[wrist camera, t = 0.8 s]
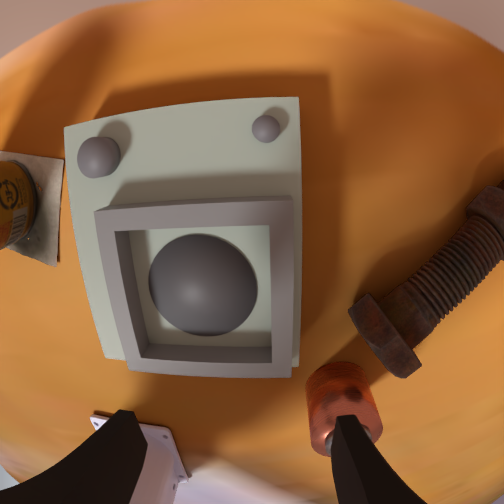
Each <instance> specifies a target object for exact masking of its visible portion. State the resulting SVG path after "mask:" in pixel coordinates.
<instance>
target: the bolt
mask: <svg viewBox="0 0 504 504" xmlns="http://www.w3.org/2000/svg"><path fill="white" fill-rule="evenodd" d="M466 211H467V218H468V220H467V221H466V223H465V224H464V225H463V227H461V228H460V229H459V231H457V232H456V234H455V235H454V236H453V237H452V239H450V240H449V241H448V243H445V245H444V246H443V247H441V250H438V252H437V254H434V255H433V258H430V259H429V262H426V263H425V266H422V267H421V270H417V274H413V275H412V276H413V278H409V279H408V282H404V283H403V284H402V285H400V286H397V287H396V288H395V289H394V290H393V291H392V292H391V293H390V294H388V295H387V296H386V297H385V298H384V299H383V300H381V301H380V302H379V303H378V304H377V302H376V301H375V300H374V299H373V297H372V296H371V295H370V294H369V293H367V294H366V295H365V296H364V297H363V298H361V299H360V300H359V301H358V302H357V303H355V304H354V305H353V306H352V307H351V308H349V309H348V313H349V315H350V317H351V319H352V321H353V323H354V324H355V326H356V328H357V329H358V331H359V333H360V334H361V336H362V337H363V338H364V340H365V341H366V342H367V344H368V345H369V346H370V348H371V349H372V350H373V352H374V353H375V354H376V356H377V357H378V358H379V359H380V361H381V362H382V363H383V364H384V366H385V367H386V368H387V369H388V370H389V371H390V372H391V373H392V374H393V375H394V376H396V377H399V378H407V377H408V376H409V375H411V374H412V373H413V372H415V371H416V370H417V369H418V368H420V367H421V366H422V364H421V363H420V361H419V359H418V358H417V356H416V354H415V353H414V351H413V350H412V349H413V348H414V347H415V346H417V345H418V344H419V343H420V342H421V341H422V340H424V339H425V338H426V337H427V336H428V335H429V334H430V333H431V332H432V331H433V330H434V328H435V327H436V326H437V324H438V323H440V318H442V319H444V318H445V314H446V315H448V314H449V310H450V311H453V306H454V307H457V306H458V303H461V302H462V299H466V295H470V291H473V290H474V287H477V286H478V284H479V283H481V282H482V280H483V279H485V275H486V276H487V275H488V273H489V272H490V271H492V268H494V267H495V266H496V264H498V263H499V261H500V260H503V261H504V180H503V181H502V182H501V183H500V185H499V186H497V187H494V186H489V185H488V186H486V187H485V188H484V189H483V190H482V191H481V192H480V193H479V194H478V195H477V196H476V198H475V199H474V200H473V201H472V202H471V203H470V204H469V205H468V206H467V207H466ZM457 302H458V303H457Z"/></svg>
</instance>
